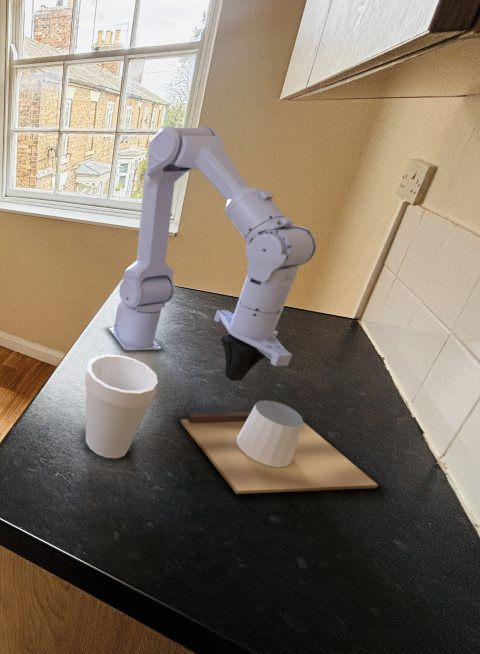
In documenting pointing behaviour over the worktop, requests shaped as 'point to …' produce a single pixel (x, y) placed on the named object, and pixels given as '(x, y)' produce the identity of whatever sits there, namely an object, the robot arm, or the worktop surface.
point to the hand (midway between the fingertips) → (233, 378)
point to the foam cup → (116, 402)
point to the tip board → (254, 477)
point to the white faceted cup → (270, 433)
